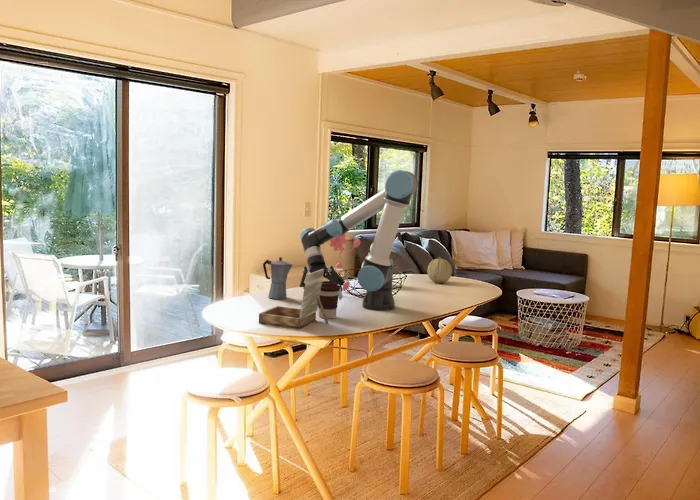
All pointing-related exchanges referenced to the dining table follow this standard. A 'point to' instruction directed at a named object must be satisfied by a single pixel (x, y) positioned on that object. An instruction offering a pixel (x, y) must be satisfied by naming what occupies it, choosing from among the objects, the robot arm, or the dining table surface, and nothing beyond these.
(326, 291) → the coffee cup
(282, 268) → the moka pot
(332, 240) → the figurine
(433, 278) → the cantaloupe
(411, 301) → the dining table surface
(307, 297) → the cold frame
